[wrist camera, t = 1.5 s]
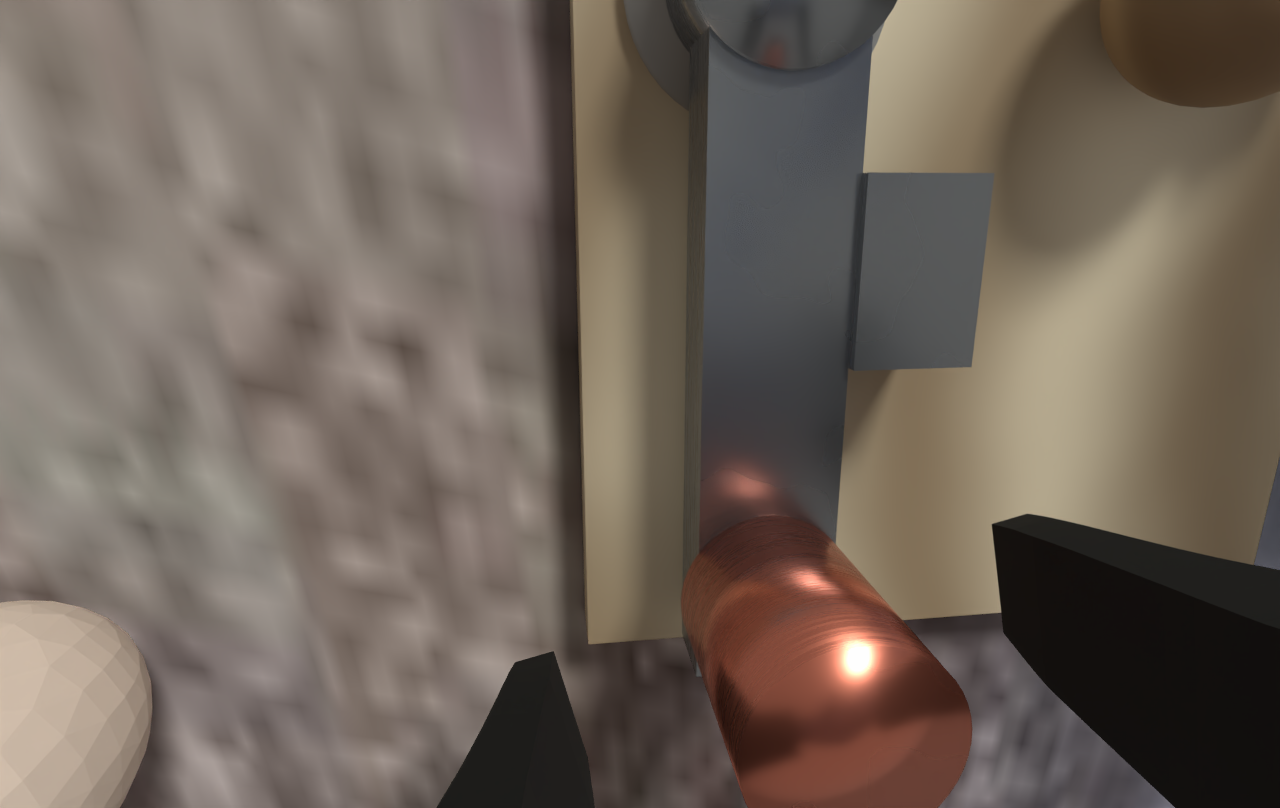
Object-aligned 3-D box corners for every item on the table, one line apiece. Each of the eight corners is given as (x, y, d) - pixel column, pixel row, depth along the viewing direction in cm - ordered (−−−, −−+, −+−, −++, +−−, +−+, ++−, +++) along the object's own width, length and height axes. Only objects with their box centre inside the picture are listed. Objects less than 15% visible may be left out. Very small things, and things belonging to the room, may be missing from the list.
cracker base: (1357, -147, 14) (1769, -329, 9) (1201, 568, 18) (1434, 695, 13) (564, -201, 12) (578, -464, 7) (584, 612, 16) (602, 778, 11)
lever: (962, -126, 11) (1309, -405, 6) (890, 611, 15) (1076, 825, 10) (663, -144, 11) (774, -466, 6) (659, 628, 14) (726, 866, 9)
